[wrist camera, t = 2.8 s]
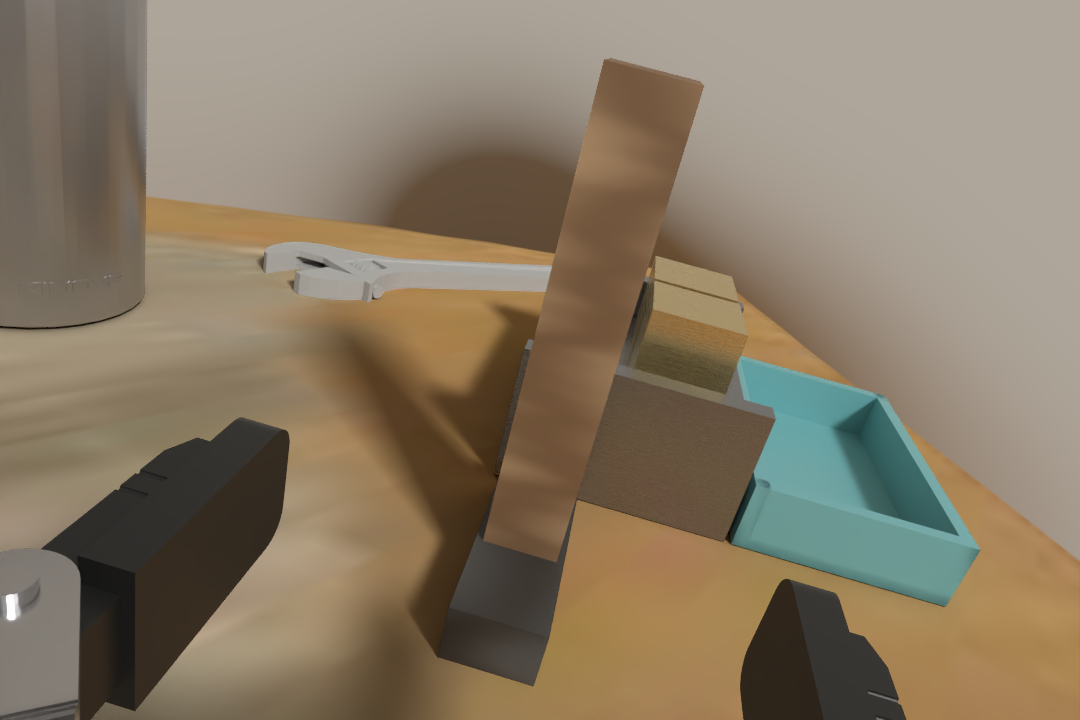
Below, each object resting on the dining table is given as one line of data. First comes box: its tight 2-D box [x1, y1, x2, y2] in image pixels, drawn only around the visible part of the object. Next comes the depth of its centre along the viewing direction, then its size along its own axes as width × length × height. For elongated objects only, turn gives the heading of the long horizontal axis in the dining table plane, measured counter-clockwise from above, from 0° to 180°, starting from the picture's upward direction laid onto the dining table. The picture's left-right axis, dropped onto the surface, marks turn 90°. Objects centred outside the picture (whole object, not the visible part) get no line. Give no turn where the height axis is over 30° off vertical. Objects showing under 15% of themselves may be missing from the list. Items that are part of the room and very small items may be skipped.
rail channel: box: [493, 276, 776, 542], centre depth 36 cm, size 10×14×6 cm
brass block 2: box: [629, 281, 748, 394], centre depth 33 cm, size 4×4×4 cm
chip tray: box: [729, 356, 980, 607], centre depth 36 cm, size 9×14×3 cm, turn 170°
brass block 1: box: [631, 256, 739, 354], centre depth 37 cm, size 4×4×4 cm
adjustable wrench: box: [263, 242, 552, 302], centre depth 50 cm, size 25×6×2 cm, turn 115°
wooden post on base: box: [437, 58, 704, 686], centre depth 23 cm, size 3×9×17 cm, turn 171°
